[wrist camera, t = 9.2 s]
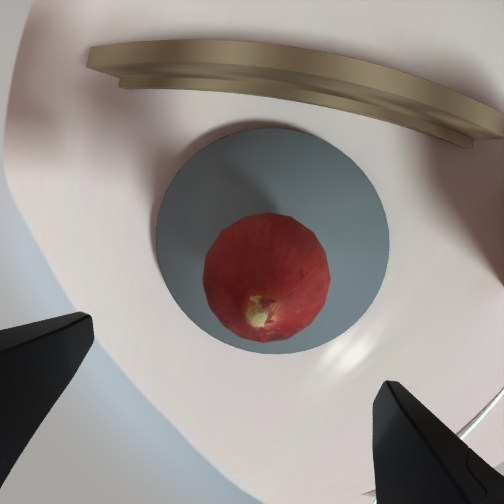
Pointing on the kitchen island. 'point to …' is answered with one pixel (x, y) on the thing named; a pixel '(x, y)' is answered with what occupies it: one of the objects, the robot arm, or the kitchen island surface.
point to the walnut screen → (301, 82)
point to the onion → (266, 277)
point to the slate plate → (280, 202)
